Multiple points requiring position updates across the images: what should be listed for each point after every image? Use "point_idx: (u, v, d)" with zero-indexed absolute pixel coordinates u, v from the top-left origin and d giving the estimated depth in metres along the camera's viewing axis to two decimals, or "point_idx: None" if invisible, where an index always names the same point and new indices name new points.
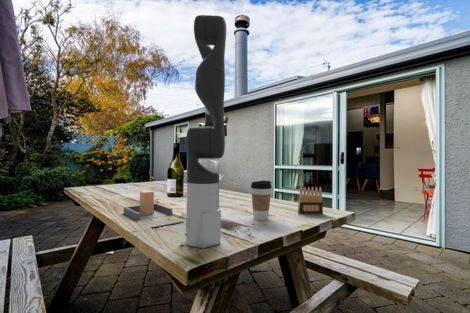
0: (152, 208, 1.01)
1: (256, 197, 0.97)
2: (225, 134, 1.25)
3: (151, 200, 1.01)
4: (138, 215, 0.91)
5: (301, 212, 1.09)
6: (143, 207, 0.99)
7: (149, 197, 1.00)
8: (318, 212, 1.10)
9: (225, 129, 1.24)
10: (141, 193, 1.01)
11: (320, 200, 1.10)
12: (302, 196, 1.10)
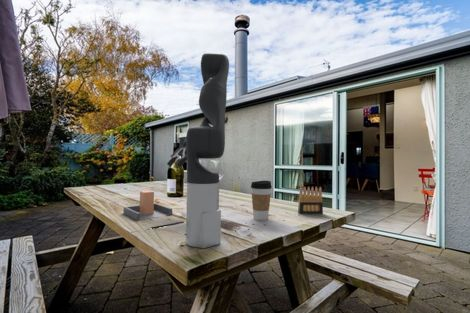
0: (152, 208, 1.01)
1: (256, 197, 0.97)
2: (186, 155, 1.07)
3: (151, 200, 1.01)
4: (138, 215, 0.91)
5: (301, 212, 1.09)
6: (143, 207, 0.99)
7: (149, 197, 1.00)
8: (318, 212, 1.10)
9: None
10: (141, 193, 1.01)
11: (320, 200, 1.10)
12: (302, 196, 1.10)
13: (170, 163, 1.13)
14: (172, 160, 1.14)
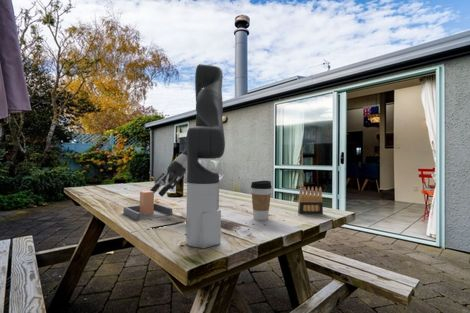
0: (152, 208, 1.01)
1: (256, 197, 0.97)
2: (169, 183, 1.02)
3: (151, 200, 1.01)
4: (138, 215, 0.91)
5: (301, 212, 1.09)
6: (143, 207, 0.99)
7: (149, 197, 1.00)
8: (318, 212, 1.10)
9: (174, 178, 1.03)
10: (141, 193, 1.01)
11: (320, 200, 1.10)
12: (302, 196, 1.10)
13: (153, 190, 1.08)
14: (155, 187, 1.08)
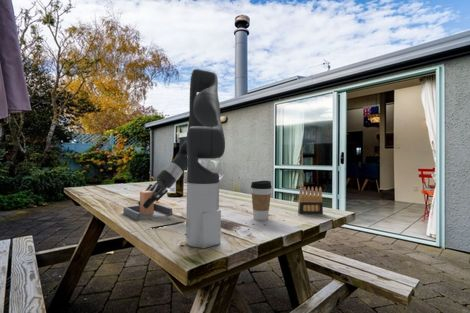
0: (152, 208, 1.01)
1: (256, 197, 0.97)
2: (154, 195, 0.99)
3: None
4: (138, 215, 0.91)
5: (301, 212, 1.09)
6: (143, 207, 0.99)
7: (149, 197, 1.00)
8: (318, 212, 1.10)
9: (159, 190, 0.99)
10: (141, 193, 1.01)
11: (320, 200, 1.10)
12: (302, 196, 1.10)
13: None
14: None
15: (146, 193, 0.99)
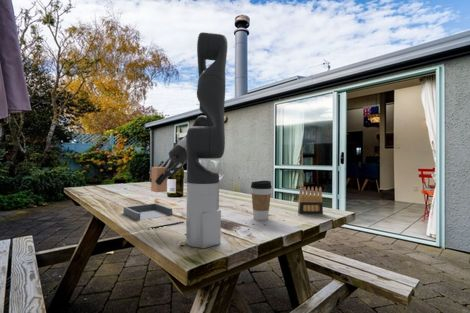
0: (165, 185, 0.92)
1: (256, 197, 0.97)
2: (167, 170, 0.90)
3: None
4: (138, 215, 0.91)
5: (301, 212, 1.09)
6: (155, 183, 0.90)
7: (162, 173, 0.91)
8: (318, 212, 1.10)
9: (174, 165, 0.90)
10: (153, 169, 0.92)
11: (320, 200, 1.10)
12: (302, 196, 1.10)
13: None
14: None
15: (159, 168, 0.90)
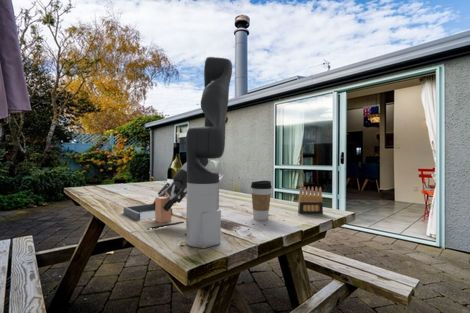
0: (169, 216, 0.90)
1: (256, 197, 0.97)
2: (175, 196, 0.87)
3: None
4: (138, 215, 0.91)
5: (301, 212, 1.09)
6: (159, 215, 0.89)
7: None
8: (318, 212, 1.10)
9: (180, 190, 0.89)
10: (157, 199, 0.90)
11: (320, 200, 1.10)
12: (302, 196, 1.10)
13: None
14: None
15: (163, 199, 0.89)
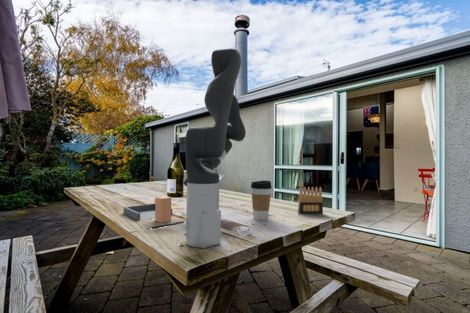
0: (169, 216, 0.90)
1: (256, 197, 0.97)
2: None
3: (169, 206, 0.90)
4: (138, 215, 0.91)
5: (301, 212, 1.09)
6: (159, 215, 0.89)
7: (166, 204, 0.90)
8: (318, 212, 1.10)
9: (210, 169, 0.98)
10: (157, 199, 0.90)
11: (320, 200, 1.10)
12: (302, 196, 1.10)
13: (187, 182, 1.02)
14: None
15: (163, 199, 0.89)
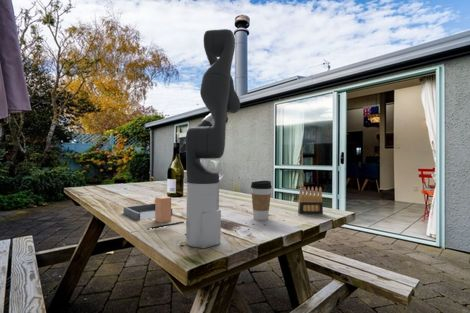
0: (169, 216, 0.90)
1: (256, 197, 0.97)
2: None
3: (169, 206, 0.90)
4: (138, 215, 0.91)
5: (301, 212, 1.09)
6: (159, 215, 0.89)
7: (166, 204, 0.90)
8: (318, 212, 1.10)
9: None
10: (157, 199, 0.90)
11: (320, 200, 1.10)
12: (302, 196, 1.10)
13: (182, 149, 1.05)
14: (184, 146, 1.06)
15: (163, 199, 0.89)
